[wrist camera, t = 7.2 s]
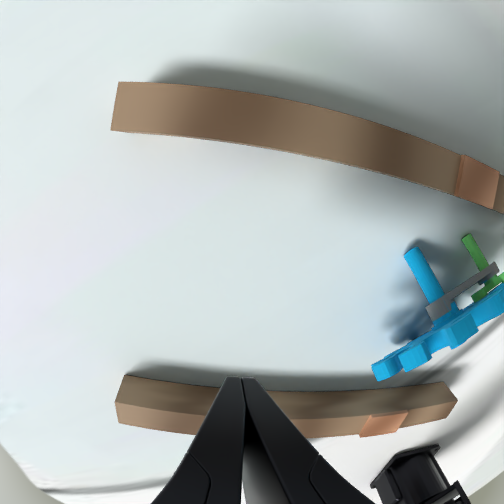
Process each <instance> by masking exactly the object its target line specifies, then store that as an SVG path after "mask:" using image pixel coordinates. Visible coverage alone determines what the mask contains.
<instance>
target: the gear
mask: <svg viewBox="0 0 504 504" xmlns="http://www.w3.org/2000/svg"><path fill="white" fill-rule="evenodd" d="M462 241H463V243H464V245H465V246H466V248H467V250H468V251H469V253H470V255H471V256H472V258H473V260H474V262H475V263H476V265H477V267H478V269H479V271H480V272H479V273H477V274H476V275H474V276H473V277H471V278H470V279H468V280H467V281H465V282H464V283H462V284H461V285H459V286H458V287H456V288H454V289H453V290H451V291H450V292H448V293H447V294H444V292H443V290H442V288H441V286H440V284H439V282H438V280H437V279H436V277H435V275H434V273H433V271H432V270H431V268H430V266H429V264H428V263H427V261H426V259H425V257H424V256H423V254H422V252H421V251H420V249H419V247H415V248H413V249H411V250H410V251H408V252H407V253H406V254H405V255H404V258H405V260H406V261H407V263H408V265H409V267H410V268H411V270H412V272H413V274H414V276H415V277H416V279H417V281H418V283H419V285H420V287H421V288H422V290H423V292H424V294H425V296H426V298H427V300H428V302H429V305H428V306H426V307H425V308H426V310H427V312H428V314H429V316H430V318H431V320H432V322H433V324H434V327H432V328H431V329H432V330H431V331H429V332H427V333H425V334H423V335H421V336H419V337H418V338H416V339H414V340H412V341H411V342H409V343H408V344H407V345H406V346H404V347H402V348H400V349H398V350H396V351H394V352H392V353H390V354H389V355H387V356H385V357H384V359H382V360H380V361H378V362H376V363H374V364H372V365H371V366H372V367H371V368H372V370H373V372H374V375H375V377H376V379H377V381H381V380H384V379H387V378H389V377H391V376H393V375H395V374H397V373H398V372H400V371H401V369H402V368H404V370H405V372H408V371H410V370H412V369H414V368H416V367H418V366H420V365H422V364H424V363H426V362H427V361H429V360H430V359H431V358H432V356H431V354H432V353H434V352H436V351H438V350H440V349H442V348H444V347H447V346H450V348H451V349H454V348H456V347H458V346H460V345H461V344H463V343H464V342H465V341H466V340H467V339H468V338H470V337H471V336H473V335H474V334H475V333H477V332H478V331H479V330H478V328H477V327H478V326H480V325H481V324H483V323H485V322H487V321H489V320H491V319H493V318H495V317H497V316H499V315H501V314H502V313H504V272H503V273H502V274H500V275H499V276H498V277H497V275H496V274H497V273H498V272H499V269H498V267H497V265H496V263H495V262H493V263H492V264H490V265H489V264H488V263H487V261H486V259H485V257H484V256H483V254H482V252H481V250H480V249H479V247H478V245H477V244H476V242H475V240H474V239H473V237H472V235H471V234H468V235H467V236H466V237H464V238H463V239H462ZM477 282H478V283H479V285H482V284H483V283H484V284H485V286H484V287H483V288H482V289H480V290H479V291H477V292H476V293H474V294H473V295H472V296H471V297H472V299H473V301H474V302H473V303H472V304H470V305H469V306H467V307H466V308H464V309H461V310H459V309H458V307H457V305H456V303H455V301H454V299H453V298H455V297H456V296H458V295H459V294H461V293H462V292H464V291H465V290H467V289H468V288H470V287H471V286H473V285H474V284H476V283H477ZM501 282H502V283H501ZM499 283H501V284H500V285H498V284H499ZM497 285H498V286H497ZM495 286H497V287H495ZM494 287H495V288H494ZM493 288H494V289H493ZM491 289H493V290H491ZM490 290H491V291H490ZM489 291H490V292H489ZM487 292H489V293H487Z"/></svg>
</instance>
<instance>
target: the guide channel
mask: <svg viewBox="0 0 504 504" xmlns="http://www.w3.org/2000/svg"><path fill="white" fill-rule="evenodd" d="M111 130H112V131H120V132H128V133H142V134H155V135H167V136H178V137H187V138H196V139H205V140H213V141H221V142H228V143H235V144H242V145H248V146H254V147H261V148H267V149H272V150H278V151H283V152H289V153H294V154H299V155H304V156H309V157H314V158H319V159H323V160H328V161H332V162H337V163H341V164H345V165H349V166H354V167H358V168H362V169H366V170H370V171H373V172H377V173H381V174H385V175H388V176H392V177H396V178H399V179H403V180H406V181H409V182H413V183H416V184H419V185H423V186H426V187H429V188H432V189H435V190H438V191H441V192H444V193H447V194H450V195H453V196H456V197H459V198H462V199H465V200H468V201H470V202H473V203H476V204H479V205H481V206H484V207H487V208H489V209H492V210H494V211H497V212H499V213H502V214H504V176H502V175H501V174H499V173H500V172H499V171H497V170H495V169H493V168H491V167H489V166H487V165H485V164H483V163H481V162H479V161H477V160H475V159H473V158H471V157H469V156H467V155H459V154H457V153H455V152H453V151H450V150H448V149H446V148H443V147H441V146H438V145H436V144H433V143H431V142H428V141H426V140H423V139H421V138H418V137H415V136H413V135H410V134H407V133H405V132H402V131H399V130H396V129H393V128H390V127H387V126H384V125H381V124H378V123H375V122H372V121H369V120H365V119H362V118H359V117H355V116H352V115H348V114H345V113H341V112H337V111H334V110H330V109H326V108H322V107H318V106H314V105H310V104H305V103H301V102H296V101H292V100H287V99H282V98H277V97H271V96H266V95H260V94H255V93H248V92H242V91H235V90H228V89H221V88H212V87H203V86H193V85H182V84H168V83H150V82H119V83H118V88H117V93H116V99H115V105H114V111H113V117H112V124H111ZM219 390H220V388H216V387H205V386H196V385H188V384H180V383H172V382H165V381H159V380H152V379H146V378H140V377H135V376H129V375H124V377H123V380H122V383H121V386H120V388H119V391H118V394H117V397H116V400H115V406H116V412H117V417H118V422H119V423H121V424H126V425H131V426H137V427H142V428H148V429H154V430H160V431H167V432H174V433H182V434H191V435H196V434H197V432H198V430H199V428H200V426H201V424H202V423H203V421H204V419H205V417H206V415H207V413H208V411H209V409H210V407H211V405H212V403H213V401H214V400H215V398H216V396H217V394H218V392H219ZM267 393H268V394H269V395H270V396H271V398H272V399H273V400H274V401H275V402H276V404H277V405H278V406H279V407H280V409H281V410H282V411H283V412H284V413H285V414H286V416H287V417H288V418H289V419H290V420H291V422H292V423H293V424H294V425H295V426H296V427H297V429H298V430H299V431H300V432H301V433H302V434H303V435H304V437H305V438H321V437H335V436H346V435H355V434H359V436H360V438H361V437H368V436H376V435H382V434H388V433H394V432H396V431H397V430H398V428H403V427H408V426H413V425H418V424H423V423H428V422H432V421H436V420H441V419H445V418H447V416H448V415H449V413H450V412H451V410H452V409H453V407H454V406H455V404H456V403H457V401H458V400H457V398H456V397H455V396H454V394H453V393H452V392H451V391H450V389H449V388H448V387H447V386H446V384H445V383H444V382H438V383H431V384H424V385H415V386H407V387H397V388H386V389H373V390H356V391H330V392H284V391H267Z"/></svg>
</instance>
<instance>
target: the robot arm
mask: <svg viewBox="0 0 504 504" xmlns="http://www.w3.org/2000/svg"><path fill="white" fill-rule="evenodd" d="M439 449H440V446H439V444H437V445H433V446H430V447H426V448H423V449H419V450H415V451H411V452H407V453H402V454H398V455H396V456H394V457H393V458H392V459H391V460H390V462H389V463H388V464H387V465H386V467H385V468H384V469H383V470H382V471H381V473H380V474H379V475H378V476H377V477H376V479H375V480H374V481H373V482H372V483H371V484H370V487H371V489H373V488H376V489H377V491H378V494H379V496H380V498H381V501H382V503H383V504H471V503H470V501H469V499H468V497H467V496H466V494H465V492H464V490H463V489H462V487H461V485H460V483H459V482H458V480H457V481H456V482H454V483H453V485H451V486H450V484H449V482H448V480H447V479H446V477H445V475H444V473H443V472H442V470H441V468H440V466H439V465H438V463H437V461H436V459H435V458H434V455H435V454H436V452H437V451H438V450H439ZM242 482H243V488H244V494H245V499H246V504H375V503H374V502H373V501H371V500H370V499H369V498H367V497H366V496H365V495H364V494H362V493H361V492H360V491H359V490H357V489H356V488H355V487H354V486H352V485H351V484H350V483H349V482H348V481H347V480H345V479H344V478H343V477H342V476H341V475H340V474H339V473H338V472H337V471H336V470H335V469H334V468H333V467H332V466H331V465H330V464H329V463H328V462H327V461H326V460H325V459H324V458H323V457H322V456H321V455H319V452H318V451H317V450H316V449H315V448H314V447H313V446H312V445H311V443H310V442H309V441H308V440H307V439H306V438H305V437H304V435H303V434H302V433H301V432H300V431H299V430H298V429H297V427H296V426H295V425H294V424H293V423H292V422H291V420H290V419H289V418H288V417H287V416H286V414H285V413H284V412H283V411H282V410H281V409H280V407H279V406H278V405H277V404H276V402H275V401H274V400H273V399H272V398H271V396H270V395H269V394H268V393H267V391H266V390H265V389H264V388H263V387H262V385H261V384H260V383H259V382H258V380H257V379H256V378H253V377H242V378H240V377H239V376H227V377H226V378H225V380H224V382H223V384H222V386H221V388H220V390H219V392H218V394H217V396H216V398H215V400H214V401H213V403H212V405H211V407H210V409H209V411H208V413H207V415H206V417H205V419H204V421H203V423H202V424H201V426H200V428H199V430H198V432H197V434H196V436H195V438H194V440H193V441H192V443H191V445H190V447H189V449H188V451H187V453H186V454H185V456H184V458H183V460H182V461H181V463H180V465H179V466H178V468H177V470H176V471H175V473H174V475H173V476H172V478H171V479H170V480H169V482H168V483H167V484H166V486H165V487H164V488H163V490H162V491H161V492H160V493H159V495H158V496H157V497H156V498H155V499H154V501H153V502H152V503H151V504H241V489H242ZM458 495H460V496H461V497H459V498H458V499H456V500H455V501H454V499H453V498H455V497H456V496H458Z"/></svg>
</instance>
